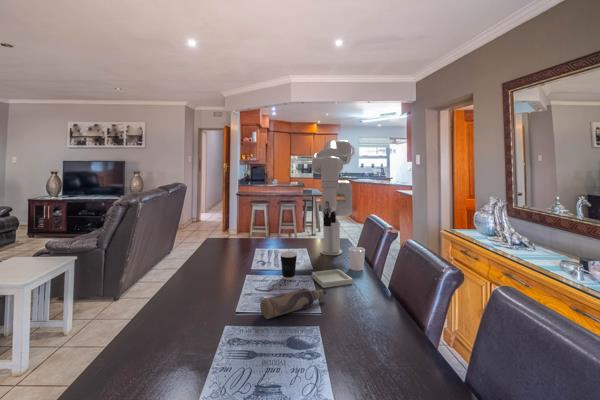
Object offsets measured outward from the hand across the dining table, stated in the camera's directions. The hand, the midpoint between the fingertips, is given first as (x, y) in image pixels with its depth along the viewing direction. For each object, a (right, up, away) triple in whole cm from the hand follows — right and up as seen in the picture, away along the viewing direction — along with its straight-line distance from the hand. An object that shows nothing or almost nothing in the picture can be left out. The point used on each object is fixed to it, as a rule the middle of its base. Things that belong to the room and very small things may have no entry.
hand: (329, 224), depth 129 cm
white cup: (+15, -23, +16) cm, 32 cm away
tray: (+1, -25, +1) cm, 25 cm away
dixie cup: (-18, -25, +4) cm, 31 cm away
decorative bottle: (-14, -28, -27) cm, 41 cm away
